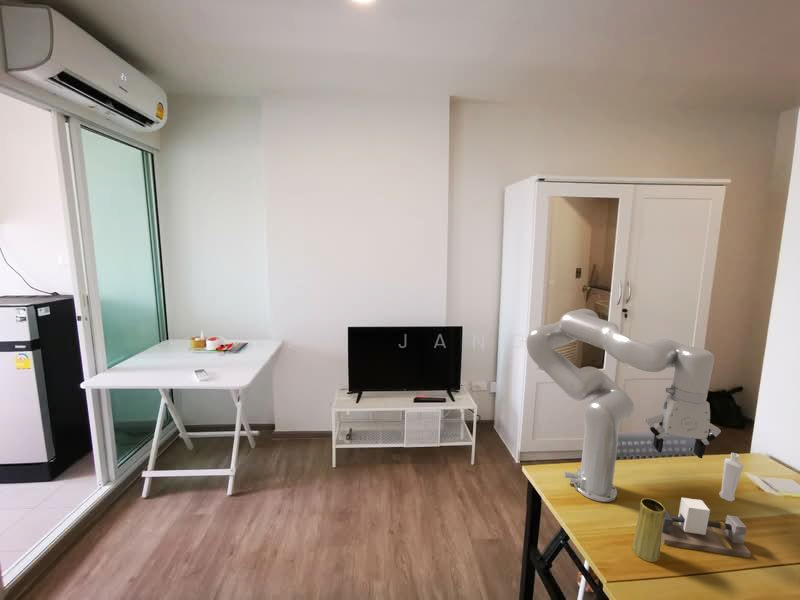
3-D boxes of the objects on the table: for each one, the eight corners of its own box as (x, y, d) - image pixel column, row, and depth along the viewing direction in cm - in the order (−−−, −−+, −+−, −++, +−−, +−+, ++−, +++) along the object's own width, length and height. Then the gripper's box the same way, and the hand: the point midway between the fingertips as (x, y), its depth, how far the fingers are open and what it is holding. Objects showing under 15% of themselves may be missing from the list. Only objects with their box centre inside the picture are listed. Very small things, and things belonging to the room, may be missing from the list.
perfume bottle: (713, 492, 124) (721, 450, 121) (725, 492, 124) (734, 450, 122) (726, 502, 120) (734, 459, 117) (739, 502, 120) (748, 458, 117)
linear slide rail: (663, 544, 104) (667, 523, 102) (648, 517, 113) (651, 497, 112) (749, 558, 100) (754, 536, 98) (726, 528, 109) (730, 508, 108)
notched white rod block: (684, 531, 105) (688, 507, 103) (677, 520, 109) (681, 497, 107) (705, 534, 104) (710, 510, 102) (697, 523, 108) (701, 500, 106)
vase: (659, 566, 97) (667, 517, 94) (631, 555, 100) (638, 507, 97) (658, 549, 102) (666, 502, 99) (632, 539, 105) (638, 493, 102)
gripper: (657, 396, 99) (647, 455, 103) (735, 404, 96) (721, 466, 99) (646, 384, 107) (637, 440, 110) (718, 392, 103) (706, 449, 106)
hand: (677, 452), depth 105 cm, fingers open, 9 cm apart
